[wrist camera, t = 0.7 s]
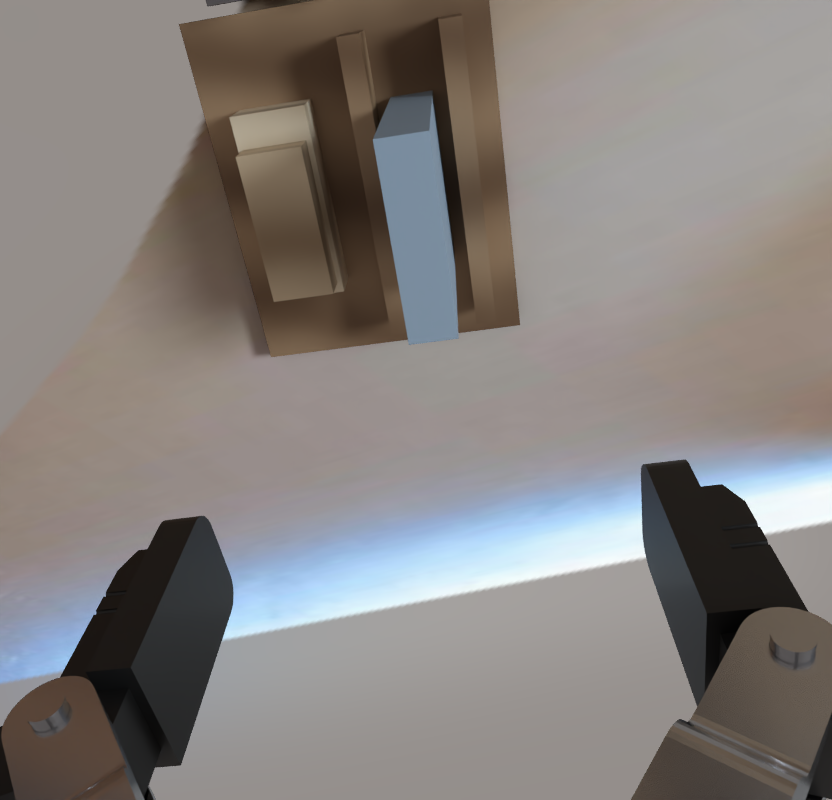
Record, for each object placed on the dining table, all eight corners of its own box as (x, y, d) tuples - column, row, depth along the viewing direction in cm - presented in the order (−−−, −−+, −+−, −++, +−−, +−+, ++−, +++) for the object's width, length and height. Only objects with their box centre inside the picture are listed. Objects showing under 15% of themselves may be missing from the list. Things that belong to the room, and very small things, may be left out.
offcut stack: (239, 110, 36) (220, 122, 33) (310, 98, 36) (298, 110, 33) (284, 286, 40) (271, 311, 37) (348, 277, 40) (340, 302, 37)
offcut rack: (185, 23, 35) (160, 27, 32) (484, -31, 34) (489, -31, 31) (274, 349, 43) (262, 377, 40) (518, 317, 42) (524, 344, 39)
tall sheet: (390, 97, 35) (372, 139, 26) (432, 90, 35) (429, 130, 26) (416, 259, 39) (409, 344, 30) (454, 253, 39) (458, 338, 30)
